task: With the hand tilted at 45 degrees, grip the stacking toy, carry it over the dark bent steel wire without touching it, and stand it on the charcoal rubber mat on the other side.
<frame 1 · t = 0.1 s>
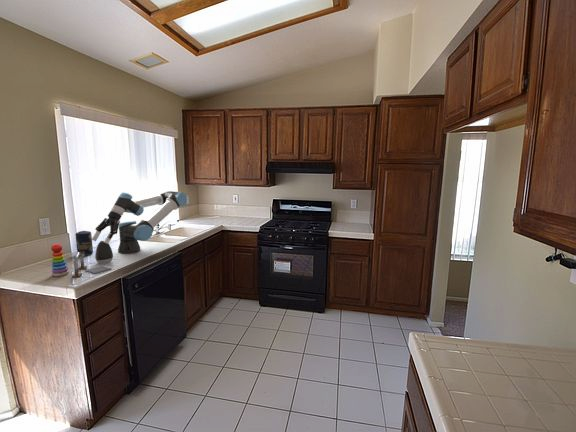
hand: (99, 241, 191), 15 cm above the countertop, tool tilted 35°, fingers open, 13 cm apart
stacking toy: (60, 274, 174), on the countertop
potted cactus: (104, 263, 197), on the countertop
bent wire: (79, 272, 178), on the countertop
canister: (85, 255, 214), on the countertop
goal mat: (98, 270, 182), on the countertop
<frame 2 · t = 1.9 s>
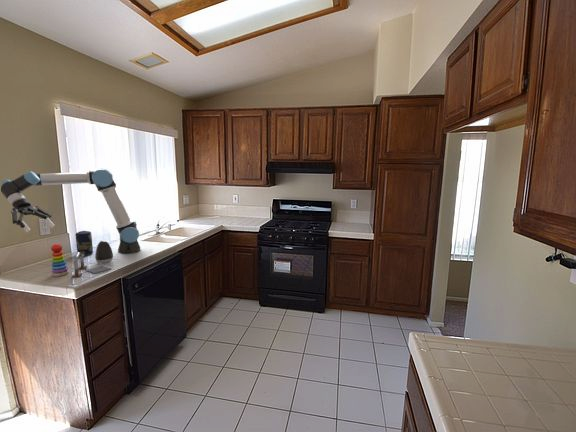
hand: (41, 228, 172), 27 cm above the countertop, tool tilted 45°, fingers open, 13 cm apart
nothing on the countertop moved.
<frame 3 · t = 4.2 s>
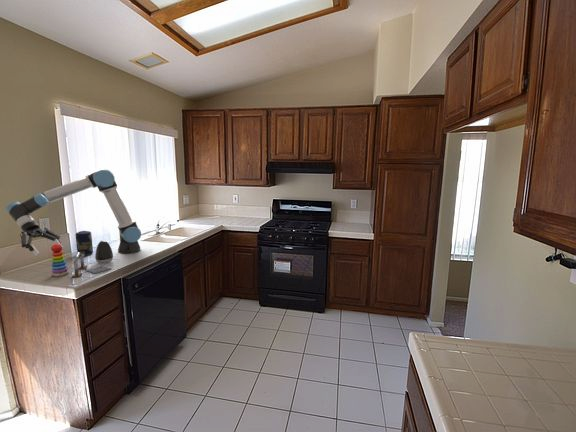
hand: (50, 251, 172), 14 cm above the countertop, tool tilted 45°, fingers open, 13 cm apart
nothing on the countertop moved.
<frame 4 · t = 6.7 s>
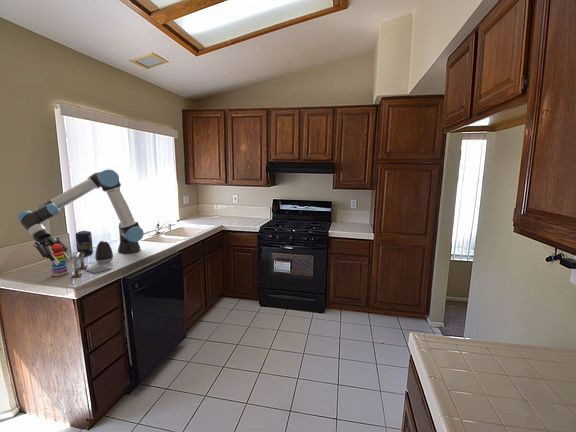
hand: (63, 262, 172), 8 cm above the countertop, tool tilted 45°, fingers closed on stacking toy, 6 cm apart
stacking toy: (60, 274, 174), on the countertop, touching gripper
everything else where it was.
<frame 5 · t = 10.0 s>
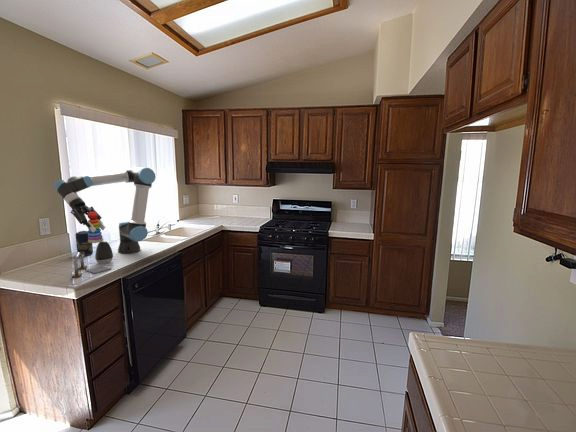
hand: (99, 229, 177), 26 cm above the countertop, tool tilted 45°, fingers closed on stacking toy, 6 cm apart
stacking toy: (95, 242, 179), point 18 cm above the countertop, touching gripper
everything else where it was.
when the fingers open (10 cm above the countertop, at t = 13.4 s): stacking toy drops 1 cm, resting on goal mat.
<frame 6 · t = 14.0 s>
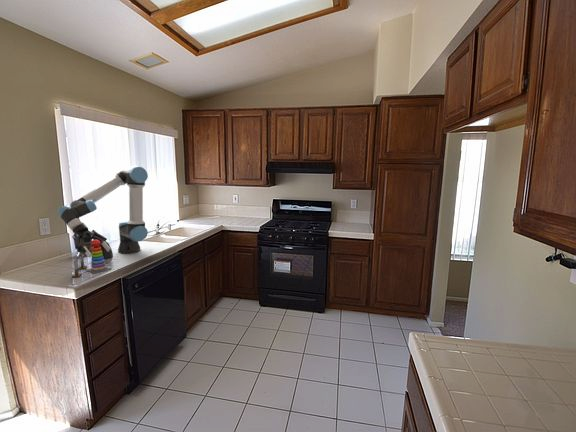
hand: (100, 252, 179), 12 cm above the countertop, tool tilted 45°, fingers open, 13 cm apart
stacking toy: (98, 269, 182), point 1 cm above the countertop, touching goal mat
everything else where it was.
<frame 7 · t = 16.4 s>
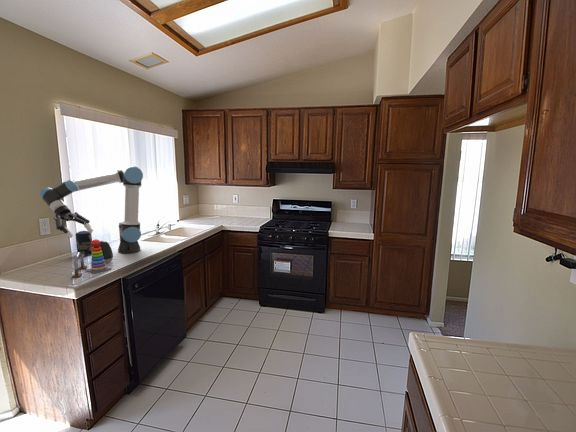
hand: (82, 234, 181), 22 cm above the countertop, tool tilted 45°, fingers open, 13 cm apart
nothing on the countertop moved.
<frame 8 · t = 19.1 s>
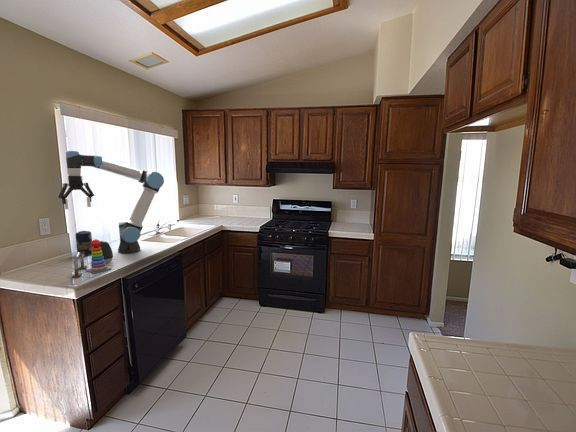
hand: (78, 208, 192), 37 cm above the countertop, tool pointing down, fingers open, 13 cm apart
nothing on the countertop moved.
at the end: stacking toy inside the target area on the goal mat (0.3 cm from its centre), point 0.8 cm above the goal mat's base; stacking toy tilted 0°; stacking toy touching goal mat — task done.
